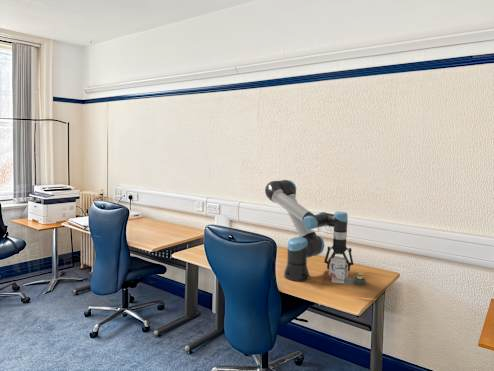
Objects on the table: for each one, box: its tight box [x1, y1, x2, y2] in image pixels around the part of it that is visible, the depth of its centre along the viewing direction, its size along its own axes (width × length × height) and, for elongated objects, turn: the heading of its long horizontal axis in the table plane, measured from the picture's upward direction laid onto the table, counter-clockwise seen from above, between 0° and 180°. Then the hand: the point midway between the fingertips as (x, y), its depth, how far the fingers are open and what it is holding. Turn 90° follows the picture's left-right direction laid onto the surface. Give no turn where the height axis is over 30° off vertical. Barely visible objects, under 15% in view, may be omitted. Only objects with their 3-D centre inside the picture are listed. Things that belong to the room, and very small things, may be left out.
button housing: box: [353, 275, 366, 286], centre depth 219 cm, size 6×6×3 cm
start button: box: [355, 271, 365, 280], centre depth 219 cm, size 4×4×6 cm
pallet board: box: [330, 276, 366, 286], centre depth 223 cm, size 19×11×1 cm, turn 79°
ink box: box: [329, 255, 348, 279], centre depth 223 cm, size 9×5×12 cm, turn 62°
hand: (338, 275), depth 224 cm, fingers closed on ink box, 9 cm apart
